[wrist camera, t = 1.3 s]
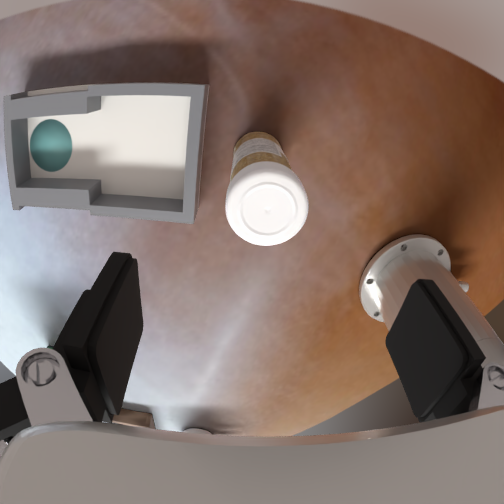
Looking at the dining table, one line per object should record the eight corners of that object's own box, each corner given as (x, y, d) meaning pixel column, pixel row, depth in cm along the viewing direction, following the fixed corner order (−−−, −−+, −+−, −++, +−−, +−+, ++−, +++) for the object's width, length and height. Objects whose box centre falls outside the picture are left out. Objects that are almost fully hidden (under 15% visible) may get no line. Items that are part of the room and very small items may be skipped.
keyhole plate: (209, 84, 25) (204, 85, 22) (198, 208, 31) (193, 223, 28) (24, 92, 23) (3, 96, 20) (30, 196, 29) (13, 209, 26)
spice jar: (279, 179, 30) (303, 250, 18) (231, 175, 30) (223, 246, 18) (284, 131, 28) (315, 173, 16) (233, 128, 27) (226, 167, 16)
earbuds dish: (151, 413, 50) (149, 427, 48) (158, 441, 57) (157, 453, 54) (79, 398, 49) (74, 411, 47) (94, 429, 55) (91, 440, 53)
